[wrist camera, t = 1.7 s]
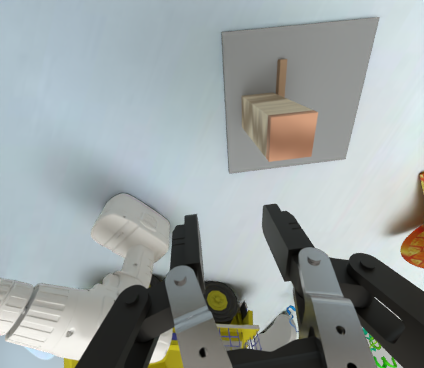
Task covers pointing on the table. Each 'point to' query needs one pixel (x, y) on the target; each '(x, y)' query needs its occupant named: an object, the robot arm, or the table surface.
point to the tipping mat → (297, 83)
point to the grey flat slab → (277, 334)
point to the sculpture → (415, 242)
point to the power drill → (88, 298)
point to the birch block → (279, 126)
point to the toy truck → (224, 318)
